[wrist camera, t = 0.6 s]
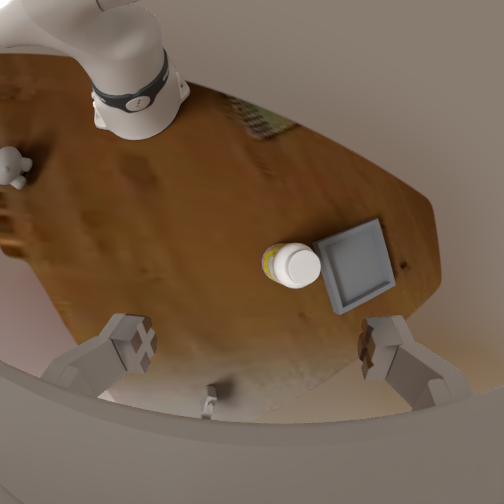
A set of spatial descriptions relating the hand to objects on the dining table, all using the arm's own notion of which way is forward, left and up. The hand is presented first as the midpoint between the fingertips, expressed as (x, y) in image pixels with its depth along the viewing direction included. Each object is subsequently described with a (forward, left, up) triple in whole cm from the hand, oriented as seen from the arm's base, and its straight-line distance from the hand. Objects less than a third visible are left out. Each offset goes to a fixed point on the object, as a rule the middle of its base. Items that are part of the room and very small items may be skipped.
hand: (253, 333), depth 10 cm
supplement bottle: (+4, +11, -39) cm, 41 cm away
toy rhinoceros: (-32, -32, -39) cm, 60 cm away
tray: (+10, +25, -39) cm, 47 cm away
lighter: (+24, -11, -39) cm, 47 cm away
